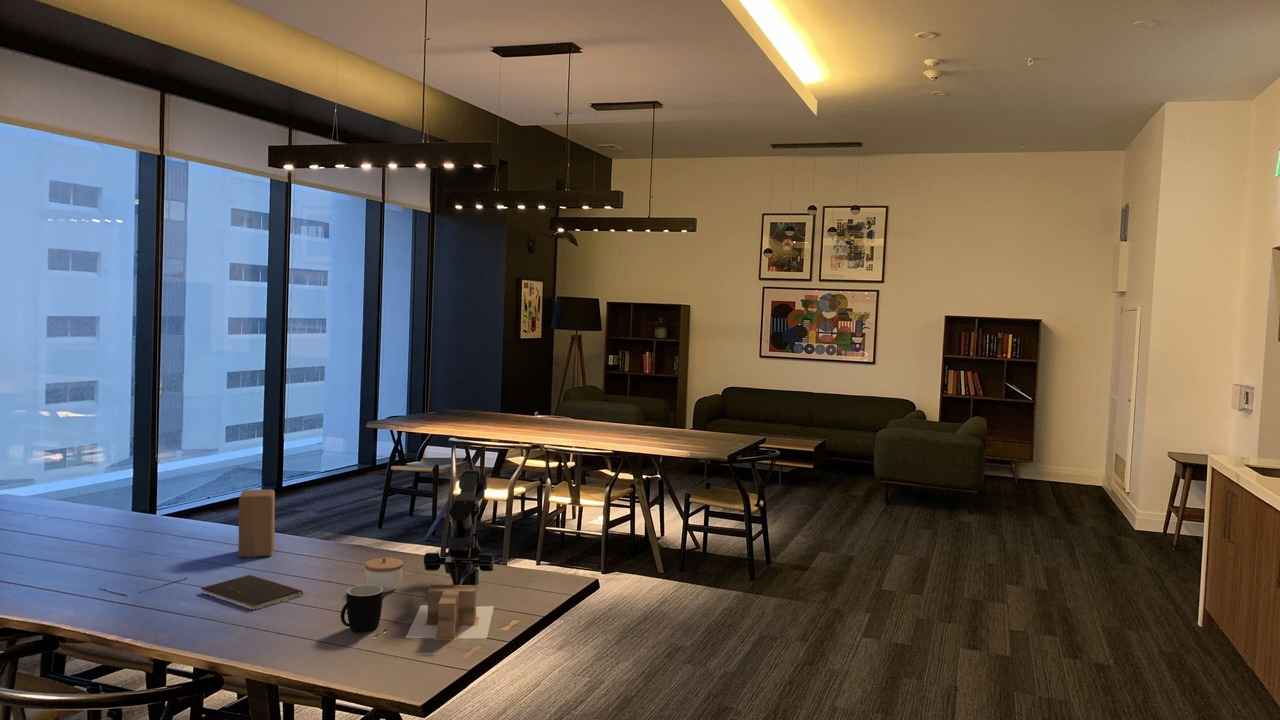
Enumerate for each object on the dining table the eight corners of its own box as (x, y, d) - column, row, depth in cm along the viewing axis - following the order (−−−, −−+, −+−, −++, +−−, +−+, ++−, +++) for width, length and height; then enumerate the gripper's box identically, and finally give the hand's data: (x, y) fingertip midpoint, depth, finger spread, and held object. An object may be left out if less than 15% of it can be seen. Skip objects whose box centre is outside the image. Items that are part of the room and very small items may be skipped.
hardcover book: (253, 613, 248) (253, 604, 248) (200, 595, 260) (201, 587, 260) (303, 597, 262) (303, 589, 261) (251, 581, 274) (251, 574, 273)
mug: (365, 620, 244) (365, 582, 244) (389, 627, 240) (390, 589, 239) (328, 633, 234) (329, 594, 233) (353, 641, 229) (354, 601, 229)
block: (241, 550, 303) (242, 489, 302) (274, 548, 306) (275, 488, 305) (238, 558, 294) (238, 496, 293) (272, 557, 297) (272, 495, 296)
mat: (486, 641, 233) (486, 640, 233) (404, 640, 231) (404, 639, 231) (494, 607, 258) (494, 606, 258) (420, 606, 256) (420, 605, 256)
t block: (469, 639, 233) (470, 604, 232) (421, 638, 232) (422, 603, 231) (475, 618, 248) (476, 585, 247) (430, 617, 247) (430, 584, 246)
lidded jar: (356, 590, 268) (356, 558, 267) (382, 581, 277) (383, 550, 276) (384, 597, 263) (384, 564, 262) (410, 587, 272) (411, 556, 271)
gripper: (425, 524, 255) (418, 576, 245) (493, 525, 257) (489, 577, 247) (428, 543, 264) (422, 595, 254) (495, 544, 265) (491, 595, 255)
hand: (456, 590), depth 252 cm, fingers closed
